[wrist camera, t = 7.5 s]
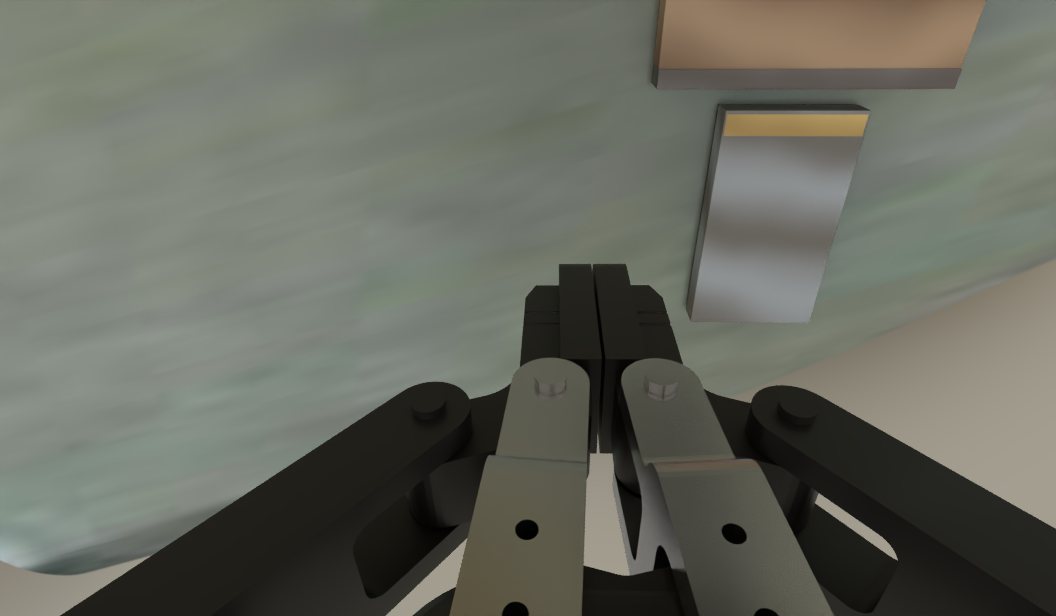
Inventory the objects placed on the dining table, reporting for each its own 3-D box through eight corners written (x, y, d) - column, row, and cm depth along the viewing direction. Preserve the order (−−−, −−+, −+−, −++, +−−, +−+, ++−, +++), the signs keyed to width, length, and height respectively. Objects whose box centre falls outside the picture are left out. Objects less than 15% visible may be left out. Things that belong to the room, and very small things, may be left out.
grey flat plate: (718, 104, 33) (726, 110, 32) (858, 104, 33) (871, 110, 31) (685, 309, 40) (690, 321, 39) (799, 310, 40) (808, 323, 38)
